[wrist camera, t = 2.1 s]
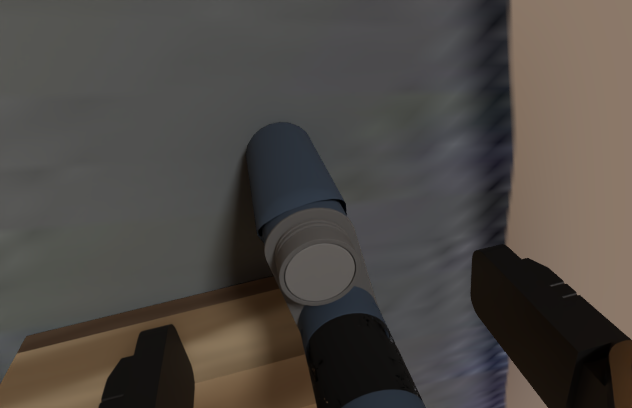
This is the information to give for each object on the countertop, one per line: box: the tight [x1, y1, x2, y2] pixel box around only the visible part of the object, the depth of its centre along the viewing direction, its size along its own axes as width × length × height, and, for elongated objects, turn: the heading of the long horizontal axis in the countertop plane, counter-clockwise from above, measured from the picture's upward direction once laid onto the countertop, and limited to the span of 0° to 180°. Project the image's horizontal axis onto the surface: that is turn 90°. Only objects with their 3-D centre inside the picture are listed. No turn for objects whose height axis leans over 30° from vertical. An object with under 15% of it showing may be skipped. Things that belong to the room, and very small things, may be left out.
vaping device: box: [246, 122, 426, 408], centre depth 12 cm, size 3×5×12 cm, turn 17°
